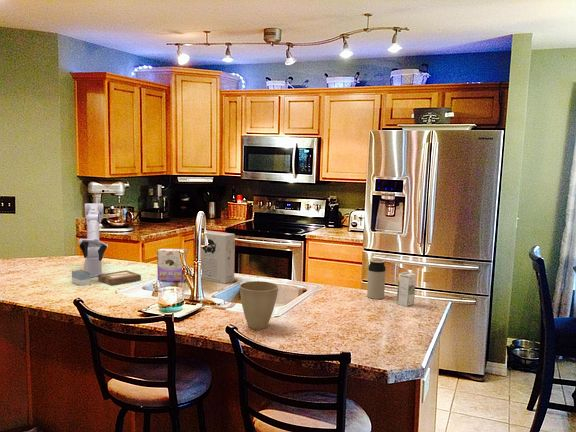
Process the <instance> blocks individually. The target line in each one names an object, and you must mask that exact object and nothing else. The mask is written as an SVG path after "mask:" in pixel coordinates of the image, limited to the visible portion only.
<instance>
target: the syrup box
mask: <svg viewBox="0 0 576 432" xmlns="http://www.w3.org/2000/svg"><path fill="white" fill-rule="evenodd" d="M416 278H417V274H416V273H414V272H410V271H403V272H400V273H398V278H397V280H398V281H397V290H396V291H397V294H396V295H397V296H396V304H397V305H400V306H402V307H403V306H404V307H410V306H413V305H414V304H415V295H416V282H417V280H416Z"/></svg>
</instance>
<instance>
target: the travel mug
mask: <svg viewBox="0 0 576 432" xmlns="http://www.w3.org/2000/svg"><path fill="white" fill-rule="evenodd" d="M368 261H369V265H368V269H367V293H366V296H367V298H369V299H372V300H381V299H384V298H385V287H386V285H385V284H386V268H387V267H386V266H385V263H386V260H385V259H382V258H370V259H368Z"/></svg>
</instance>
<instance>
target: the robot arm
mask: <svg viewBox="0 0 576 432" xmlns="http://www.w3.org/2000/svg"><path fill="white" fill-rule="evenodd" d="M84 217H85V220H86V228H87V229H86V231H87V232H86V233H87V234H86V235H87V236H86V238H79V239H78V240H77V241H78V243H77V244H79V246H78V247H79V248H80V250H81V252H82V254H83V259H85V260H84V262H83V270H84V271H86V272H89V273H90V278H96V277H98V275H100V274H104V273H102V269H103V268H102V266H103V265H102V261H103V258H104V257H105V252H106V250H107V249H108V248H109V244H107V243H105V242H103V241H101V240H100V225H101V221H102V220H104V203H103V202H101V203H94V202H93V203H90V202H89V203H84Z"/></svg>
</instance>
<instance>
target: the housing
mask: <svg viewBox="0 0 576 432" xmlns="http://www.w3.org/2000/svg"><path fill="white" fill-rule="evenodd" d="M71 284H75V285H77V286H80V287H82V286H89V285H91V277H90V273H89V272H86V271H84V269H79V270H72V271H71Z"/></svg>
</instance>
